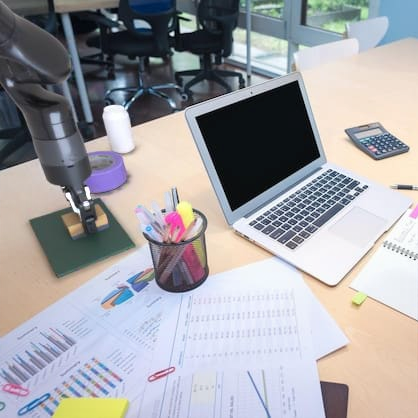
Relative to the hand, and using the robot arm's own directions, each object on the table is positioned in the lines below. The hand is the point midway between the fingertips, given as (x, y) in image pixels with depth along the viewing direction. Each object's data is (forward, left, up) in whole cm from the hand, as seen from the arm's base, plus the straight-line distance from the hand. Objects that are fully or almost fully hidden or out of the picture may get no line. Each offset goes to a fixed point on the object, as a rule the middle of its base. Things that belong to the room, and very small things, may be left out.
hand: (87, 226), depth 80 cm
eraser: (0, 0, -1) cm, 1 cm away
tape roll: (+9, +18, -1) cm, 20 cm away
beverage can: (+19, +30, -1) cm, 35 cm away
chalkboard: (-1, 0, -1) cm, 2 cm away
